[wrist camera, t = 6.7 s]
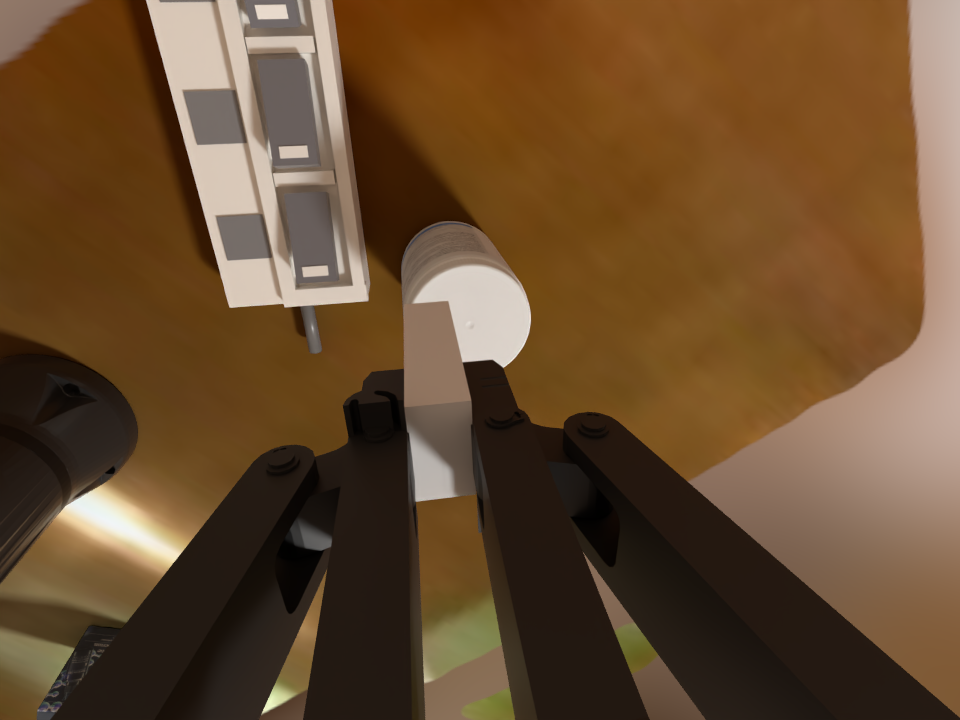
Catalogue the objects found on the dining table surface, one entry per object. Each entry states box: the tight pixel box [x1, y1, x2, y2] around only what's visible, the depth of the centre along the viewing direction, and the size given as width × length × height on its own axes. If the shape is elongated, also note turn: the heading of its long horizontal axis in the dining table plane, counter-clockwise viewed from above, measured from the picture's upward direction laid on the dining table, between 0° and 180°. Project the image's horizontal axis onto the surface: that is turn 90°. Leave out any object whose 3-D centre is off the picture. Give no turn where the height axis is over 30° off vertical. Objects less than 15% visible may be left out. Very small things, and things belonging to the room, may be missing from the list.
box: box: [37, 626, 121, 720], centre depth 61 cm, size 8×6×11 cm
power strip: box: [146, 0, 370, 353], centre depth 41 cm, size 12×36×5 cm, turn 2°
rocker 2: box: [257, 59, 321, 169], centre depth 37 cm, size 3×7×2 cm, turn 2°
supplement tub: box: [401, 221, 531, 367], centre depth 43 cm, size 10×10×15 cm
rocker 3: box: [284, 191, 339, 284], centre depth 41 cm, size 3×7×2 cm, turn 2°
